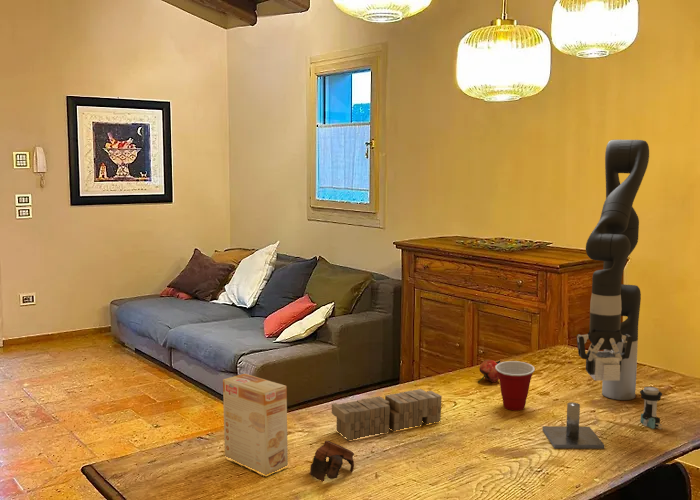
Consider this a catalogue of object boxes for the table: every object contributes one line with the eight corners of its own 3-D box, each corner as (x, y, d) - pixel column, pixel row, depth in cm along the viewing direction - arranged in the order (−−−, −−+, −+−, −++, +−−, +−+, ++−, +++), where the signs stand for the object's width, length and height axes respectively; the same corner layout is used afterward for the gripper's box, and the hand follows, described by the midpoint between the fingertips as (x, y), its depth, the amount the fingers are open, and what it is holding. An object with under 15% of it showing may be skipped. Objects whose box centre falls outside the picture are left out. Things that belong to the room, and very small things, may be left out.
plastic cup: (490, 411, 200) (491, 369, 199) (498, 399, 210) (499, 359, 209) (530, 416, 196) (531, 373, 195) (536, 403, 206) (537, 363, 205)
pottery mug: (303, 470, 164) (317, 435, 166) (340, 485, 165) (354, 451, 167) (312, 479, 152) (327, 442, 154) (352, 495, 154) (367, 458, 155)
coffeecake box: (289, 468, 164) (287, 385, 161) (265, 478, 159) (263, 392, 156) (247, 450, 174) (245, 372, 171) (223, 459, 169) (221, 378, 166)
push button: (668, 429, 186) (670, 392, 185) (652, 432, 184) (654, 394, 183) (650, 420, 192) (651, 384, 191) (634, 423, 190) (635, 386, 189)
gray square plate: (542, 430, 186) (543, 396, 185) (589, 430, 186) (590, 396, 185) (554, 448, 174) (555, 412, 173) (604, 448, 174) (605, 412, 173)
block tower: (424, 417, 199) (330, 433, 185) (425, 387, 198) (330, 401, 184) (441, 426, 192) (344, 443, 178) (442, 395, 191) (345, 410, 177)
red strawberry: (488, 393, 223) (512, 372, 224) (473, 375, 222) (498, 354, 223) (480, 388, 230) (504, 368, 231) (466, 370, 229) (490, 350, 230)
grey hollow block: (587, 373, 190) (588, 351, 189) (610, 373, 190) (611, 351, 189) (599, 385, 181) (600, 362, 180) (623, 385, 181) (624, 361, 180)
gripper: (628, 307, 188) (625, 369, 191) (573, 307, 189) (571, 369, 191) (639, 314, 181) (636, 378, 183) (581, 314, 181) (579, 378, 184)
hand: (603, 373), depth 187 cm, fingers closed on grey hollow block, 6 cm apart
